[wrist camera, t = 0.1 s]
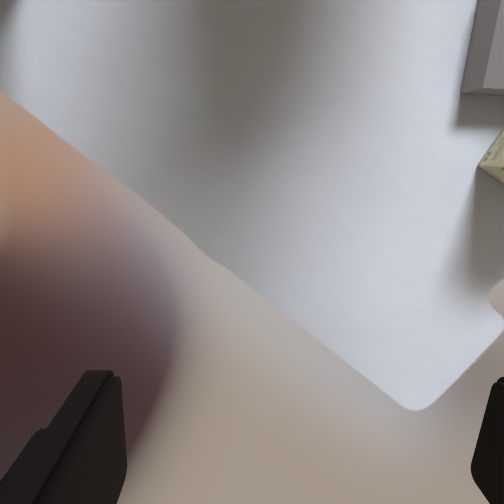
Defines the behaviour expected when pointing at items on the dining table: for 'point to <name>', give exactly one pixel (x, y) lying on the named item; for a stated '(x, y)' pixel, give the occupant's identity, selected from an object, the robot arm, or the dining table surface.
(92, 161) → the dining table surface
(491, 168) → the skincare box
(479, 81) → the grey square holder
